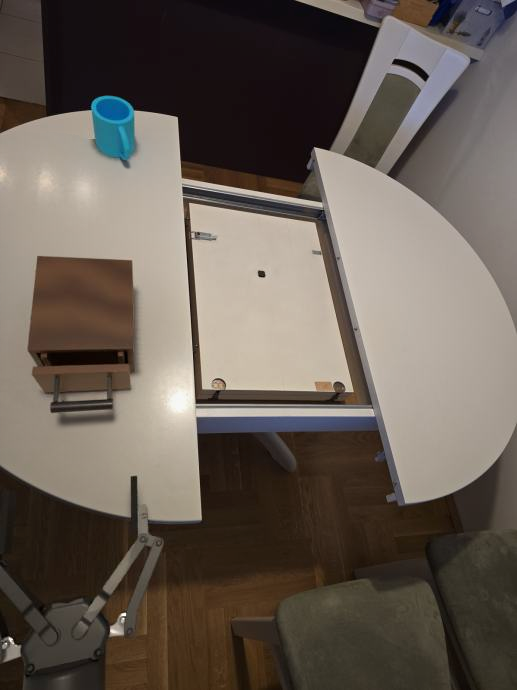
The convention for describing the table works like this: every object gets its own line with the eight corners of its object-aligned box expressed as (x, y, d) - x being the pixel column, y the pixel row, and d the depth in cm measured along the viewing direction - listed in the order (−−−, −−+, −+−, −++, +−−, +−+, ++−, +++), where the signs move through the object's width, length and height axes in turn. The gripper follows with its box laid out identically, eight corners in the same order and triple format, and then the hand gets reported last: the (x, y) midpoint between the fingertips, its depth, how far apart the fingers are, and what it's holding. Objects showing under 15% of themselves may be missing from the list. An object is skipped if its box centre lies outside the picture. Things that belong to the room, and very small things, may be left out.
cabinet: (134, 372, 66) (133, 348, 57) (43, 375, 62) (27, 350, 53) (133, 292, 72) (132, 260, 63) (50, 290, 68) (37, 255, 59)
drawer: (130, 418, 61) (129, 404, 55) (41, 424, 58) (28, 410, 51) (130, 310, 69) (128, 286, 62) (51, 309, 65) (40, 283, 59)
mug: (89, 133, 85) (85, 97, 78) (126, 129, 88) (125, 94, 81) (109, 173, 82) (106, 139, 75) (147, 167, 85) (147, 134, 78)
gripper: (-70, 730, 38) (-35, 499, 46) (187, 664, 45) (177, 475, 54) (-114, 772, 31) (-64, 494, 40) (195, 687, 39) (182, 468, 47)
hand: (74, 483), depth 47 cm, fingers open, 13 cm apart
